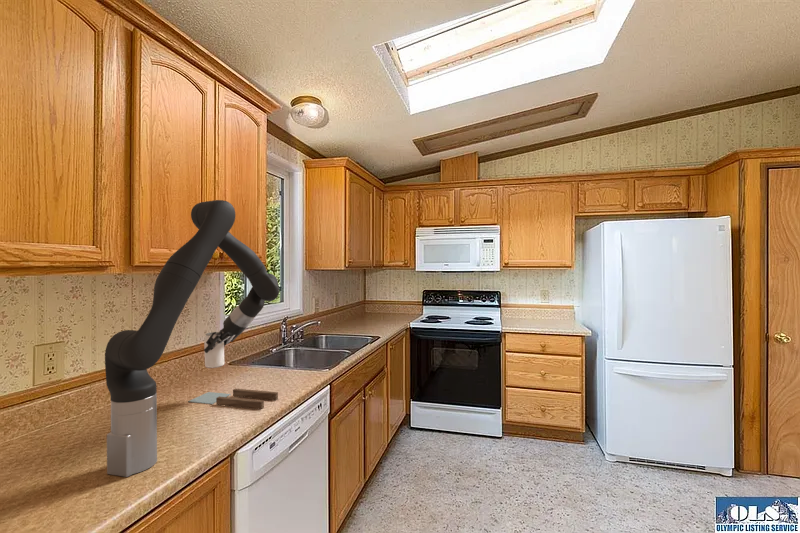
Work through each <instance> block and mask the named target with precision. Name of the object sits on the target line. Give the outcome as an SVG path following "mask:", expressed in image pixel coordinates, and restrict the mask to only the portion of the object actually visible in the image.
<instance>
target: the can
mask: <svg viewBox="0 0 800 533" xmlns="http://www.w3.org/2000/svg"><path fill="white" fill-rule="evenodd" d="M213 332H214V331H213ZM213 332H207V333H205V336H204V339H203V340H204V343H203V345H204V349H205V348H206V347H207V346H208V344H207V343H206V342H207V340H208V339H209V338H210V336H211V335H212V333H213ZM215 332H216V333H219V331H215ZM219 340H220V341H221V339H220V338H219ZM216 343H217V341H216ZM216 343H215V344H216ZM204 349H203V350H204ZM224 365H225V347H224V342H222V343H221V344H218V345H217V346H216V347H215V348H213V349H212V350H211V349H210V350H209V351H208V353H205V352H204V366H205V368H206V369H217V368H221V367H223V366H224Z"/></svg>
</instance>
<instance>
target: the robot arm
mask: <svg viewBox="0 0 800 533" xmlns="http://www.w3.org/2000/svg"><path fill="white" fill-rule="evenodd" d="M190 218H191V221H192V224H194V226H195V227H196V228H197V229H198V230H197V232H196V233H195V234H194V235H193V236H192V237H191V238H190V239H189V240H187V241H186V243H184V244H183V245H182V246H181V247H180V248H178V249H177V250H176V251H175V252H174V253H173V254H172V255H171V256H170V257H169V258H168V259H167V261H166V262H165V264H164V265H163V267H162V268H161V270H160V272H159V274H158V275H157V277H156V280H155V281H154V286H153V287H154V288H153V299H152V305H151V308H150V310H149V313H148V314H147V316H146V318H145V319H144V321H143V323H142V324H141V326H140V327H139V329H138V330H134V329H127V330H125V329H124V330H121V331H118V332H117V333H115V334H114V335H112V336H111V338H110V339H109V340H108V342H107V344H106V345H105V346H106V347H105V351H104V366H105V367H104V369H105V381H106V382H105V383H106V387H107V389H108V392H109V395H110V432H108V433H107V434H106V474H107V475H111V476H112V475H113V476H119V477H125V478H128V477H130V476H132V475H134V474H137V473H141V472H143V471H146V470H149V469H150V468H151V467H153V466H154V465H155V464H157V462H158V427H157V426H158V418H157V417H158V416H157V415H158V414H157V413H158V410H157V409H158V408H157V406H158V405H157V403H158V401H157V400H158V399H157V398H158V394H157V391H158V390H157V382H156V381H155V379H153V377H151V375H150V374H149V372H148V369H151V368H152V367H153V366H154V365H156V363H158V361H159V360H160V359H161V357H162V356H163V353H164V351H165V350H166V348H167V345H168V342H169V341H170V340H169V339H170V338H171V336H172V333H173V330H174V328H175V326H176V324H177V322H178V319H179V317H180V316H181V313H182V312H183V310H184V308H185V306H186V304H187V302H188V301H189V299H190V297H191V296H192V293H193V292H194V290H195V289H196V287H197V285H198V283H199V281H200V280H201V278H202V276H203V273H204V272H205V270H206V268H207V266H208V264H209V263H210V261H211V260H212V258H213V256H214V254H215V252H216V251H217V248H219V249H221V251H222V252H224V253H225V254H226V255H227V257H229V259H230V260H231V261H233V263H234V264H235V265H236V267H237V268H238V270H240V271H241V273H243V275H244V276H245V277H246V278H247V279H248V281H249V284H251V286H252V287H251V288H250V290H249V292H248V294H247V296H246V297H244V299H243V300H242V301H241V302H240V304H238V305H237V306H236V307H235V308H234V309H233V310H232V312H230V313H229V315H228V316H227V317H226V318H225V319H224V320H223V323H222V324H223V327H222V328H221V329H220V330H219V331H218V332H219V333H216V332H217V331H213V333H212V335H211V336H210V338H209V339H208V340H207V342H206V343H207V344H208V346H207V347H206V348H205V349H203V351H204V354H205V353H208V351H209V350H210V349H211V350H212V349H213V348H215V347H216V346H217V345H218V344H221V343H222V342H224V348H225V346H226V345H228V344H229V343H230V342H231V343H232V342H234V341H235V340H236V338H238V337H239V336H240V335H242V333H243V332H244V331H245V330H246V329H247V328H248V327H249V326H250V324H251V323H252V322H253V321H254V320H255V318H256V317H257V316H258V315H259V313H261V311H262V310H263V308H264V306H265V301H266V302H273V301H275V300H276V299H277V298H278V297H279V294H280V288H279V281H278V278H277V277H276V276H275V275H274V274H272V273H268V271H267V268H266V266H265V263H264V262H263V261H262V260H261V258H260V257H259V256H258V255H257V253H255V251H254V250H253V249H251V247H249V246H247V245H246V244H245V243H244V242H242V241H241V240H239V239H238V238H236V237H235V236H234V234H232V233H231V232H230V230H231V229H232V228H233V226H234V223H235V220H236V210H235V206H233V205H232V203H230V202H229V201H227V200H225V199H224V200H222V199H214V200H207V201H201V202H198V203H196V204H194V206H193V207H192V208H191V211H190ZM219 338H220V339H221V341H220V340H219ZM216 341H217V343H216ZM215 343H216V344H215Z"/></svg>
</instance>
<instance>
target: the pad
mask: <svg viewBox="0 0 800 533" xmlns="http://www.w3.org/2000/svg"><path fill="white" fill-rule="evenodd" d="M229 395H230V396H231V395H232V394H231V393H226V392H225V393H223V392H213V391H208V392H205V393H203V394H201V395H199V396H196V397H194V398H192V399H190V400H188V401H187V402H188V403H195V404H204V405H205V404H206V405H214V404H216V398H217V397H219V396H220V397H227V396H228V397H230V396H229Z"/></svg>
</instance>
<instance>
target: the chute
mask: <svg viewBox="0 0 800 533" xmlns="http://www.w3.org/2000/svg"><path fill="white" fill-rule="evenodd" d="M233 396H234V397H233ZM265 400H268V401H277V400H279V392H278V391H270V390H269V391H267V390H259V389H257V390H256V389H255V390H254V389H245V388H244V389H243V388H233V389H232V397H231V396H228V397H220V396H219V397H217V398H216V403H215V404H216V406H221V405H225V406H224V407H231V406H233V408H241V407H242V409H250V410H251V409H252V410H253V409H254V410H261V409H262V410H263V409H264V408H265Z"/></svg>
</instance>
